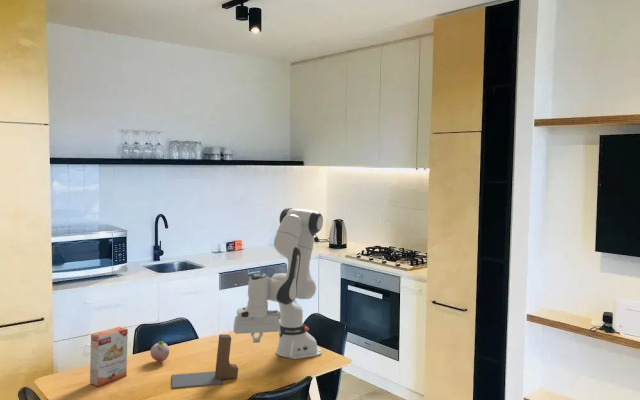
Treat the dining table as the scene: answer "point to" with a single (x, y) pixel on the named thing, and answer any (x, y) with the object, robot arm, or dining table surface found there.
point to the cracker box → (108, 356)
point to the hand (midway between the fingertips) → (256, 342)
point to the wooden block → (225, 359)
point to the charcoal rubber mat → (195, 380)
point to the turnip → (160, 351)
